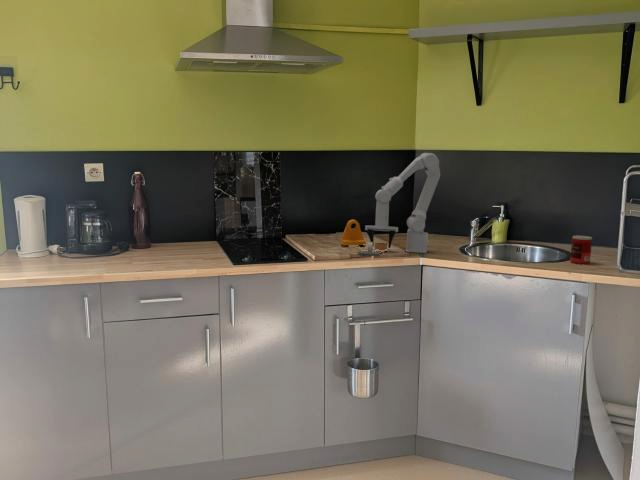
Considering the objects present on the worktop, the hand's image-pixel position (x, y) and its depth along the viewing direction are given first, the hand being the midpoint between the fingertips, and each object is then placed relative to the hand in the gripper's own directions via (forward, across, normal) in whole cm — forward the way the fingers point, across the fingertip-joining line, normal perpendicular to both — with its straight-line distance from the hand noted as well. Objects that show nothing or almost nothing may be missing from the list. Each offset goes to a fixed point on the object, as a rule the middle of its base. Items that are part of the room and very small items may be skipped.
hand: (380, 247), depth 275 cm
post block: (+2, -3, -8) cm, 9 cm away
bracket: (+2, -14, +10) cm, 18 cm away
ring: (+2, 0, 0) cm, 2 cm away
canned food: (+2, +84, +2) cm, 84 cm away
